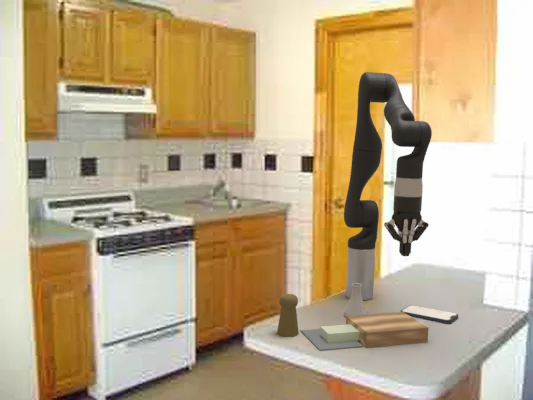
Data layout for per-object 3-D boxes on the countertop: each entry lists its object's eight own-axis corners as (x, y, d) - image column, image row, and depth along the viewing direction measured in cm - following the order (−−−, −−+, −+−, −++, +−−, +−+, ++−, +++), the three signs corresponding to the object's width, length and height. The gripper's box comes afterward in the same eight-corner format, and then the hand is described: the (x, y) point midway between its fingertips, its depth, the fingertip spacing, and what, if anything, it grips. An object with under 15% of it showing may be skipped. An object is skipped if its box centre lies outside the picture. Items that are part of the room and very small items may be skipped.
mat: (300, 331, 166) (300, 330, 166) (340, 328, 170) (340, 327, 170) (319, 350, 152) (319, 349, 152) (362, 347, 155) (362, 345, 155)
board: (345, 329, 169) (346, 316, 168) (402, 325, 173) (403, 311, 173) (366, 347, 155) (367, 332, 155) (427, 341, 160) (428, 327, 160)
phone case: (398, 316, 184) (449, 326, 175) (399, 311, 184) (449, 320, 174) (410, 309, 191) (459, 318, 182) (410, 304, 191) (459, 313, 181)
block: (320, 335, 163) (320, 326, 162) (350, 332, 165) (350, 324, 165) (328, 342, 157) (328, 333, 157) (359, 340, 159) (359, 331, 159)
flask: (369, 314, 184) (370, 282, 182) (365, 321, 177) (366, 288, 175) (346, 311, 186) (347, 280, 185) (341, 318, 179) (342, 286, 178)
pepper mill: (291, 338, 161) (292, 299, 159) (273, 334, 164) (273, 295, 163) (302, 332, 166) (303, 294, 165) (283, 328, 169) (284, 290, 168)
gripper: (422, 192, 168) (419, 251, 170) (380, 192, 164) (377, 253, 167) (436, 195, 160) (433, 257, 163) (392, 196, 157) (389, 259, 159)
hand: (404, 255), depth 165 cm, fingers closed
